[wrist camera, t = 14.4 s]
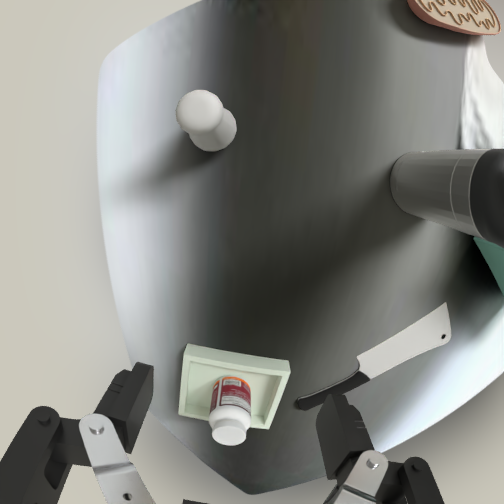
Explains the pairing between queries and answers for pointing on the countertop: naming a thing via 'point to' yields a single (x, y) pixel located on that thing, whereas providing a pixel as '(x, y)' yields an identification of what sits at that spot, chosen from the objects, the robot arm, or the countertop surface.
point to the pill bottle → (230, 410)
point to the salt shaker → (206, 120)
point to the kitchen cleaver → (390, 354)
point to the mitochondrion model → (458, 15)
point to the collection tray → (230, 363)
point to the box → (493, 259)
